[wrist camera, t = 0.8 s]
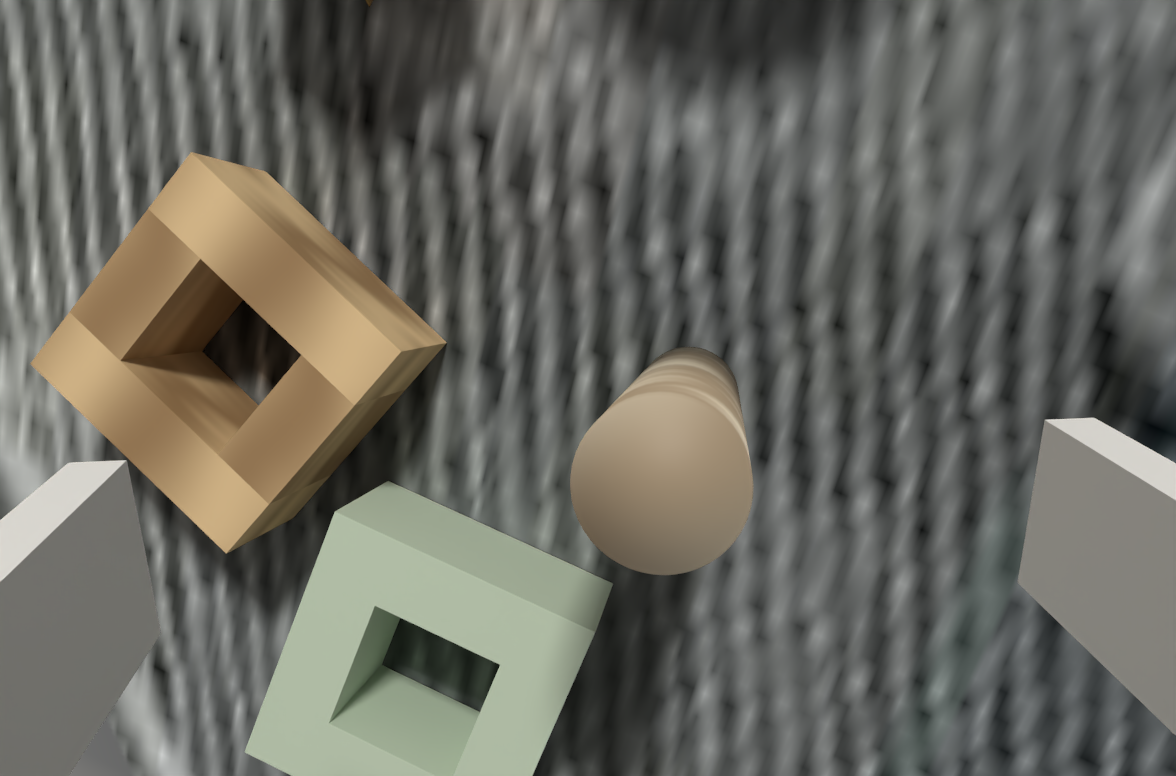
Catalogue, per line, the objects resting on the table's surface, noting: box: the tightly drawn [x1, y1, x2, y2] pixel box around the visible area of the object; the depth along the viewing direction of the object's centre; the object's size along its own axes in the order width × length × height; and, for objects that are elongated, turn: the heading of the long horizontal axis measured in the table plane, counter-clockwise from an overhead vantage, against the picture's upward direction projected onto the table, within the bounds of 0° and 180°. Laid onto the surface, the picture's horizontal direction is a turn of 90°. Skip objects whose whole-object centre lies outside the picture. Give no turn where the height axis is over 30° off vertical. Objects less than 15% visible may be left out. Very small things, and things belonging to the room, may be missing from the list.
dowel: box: [570, 347, 753, 575], centre depth 23 cm, size 3×3×14 cm
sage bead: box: [245, 481, 613, 776], centre depth 30 cm, size 9×9×4 cm
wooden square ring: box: [30, 152, 447, 554], centre depth 30 cm, size 9×9×4 cm
